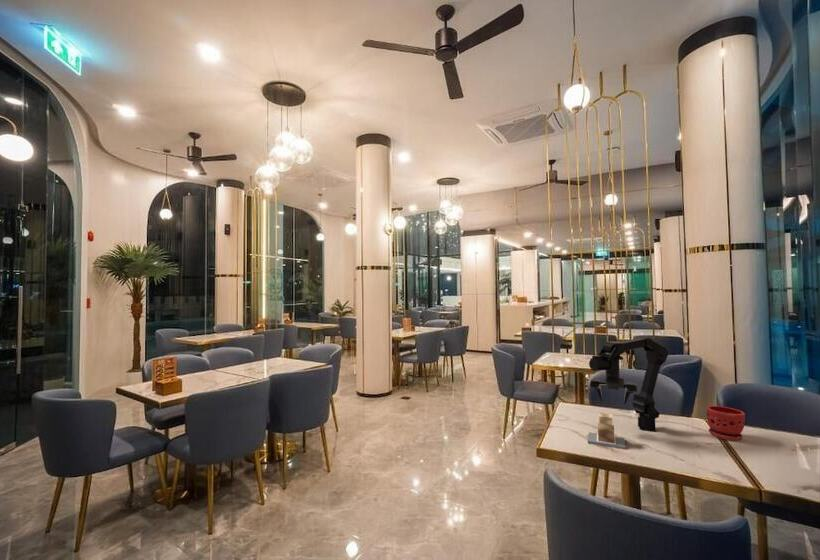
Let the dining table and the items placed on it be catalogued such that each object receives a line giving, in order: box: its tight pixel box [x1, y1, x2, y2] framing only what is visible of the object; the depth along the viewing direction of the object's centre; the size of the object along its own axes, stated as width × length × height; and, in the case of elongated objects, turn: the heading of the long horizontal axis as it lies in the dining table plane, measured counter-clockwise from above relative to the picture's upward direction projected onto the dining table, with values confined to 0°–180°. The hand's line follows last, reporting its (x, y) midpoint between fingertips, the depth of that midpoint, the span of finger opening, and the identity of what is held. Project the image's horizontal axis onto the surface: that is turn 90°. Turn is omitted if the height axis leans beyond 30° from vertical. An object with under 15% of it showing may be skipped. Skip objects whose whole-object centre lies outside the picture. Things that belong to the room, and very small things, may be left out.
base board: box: [587, 431, 626, 450], centre depth 166 cm, size 14×11×1 cm
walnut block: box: [597, 422, 615, 443], centre depth 166 cm, size 6×8×5 cm
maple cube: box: [598, 412, 614, 430], centre depth 166 cm, size 5×5×5 cm
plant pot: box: [706, 405, 746, 441], centre depth 170 cm, size 13×13×12 cm
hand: (613, 403), depth 176 cm, fingers open, 9 cm apart
